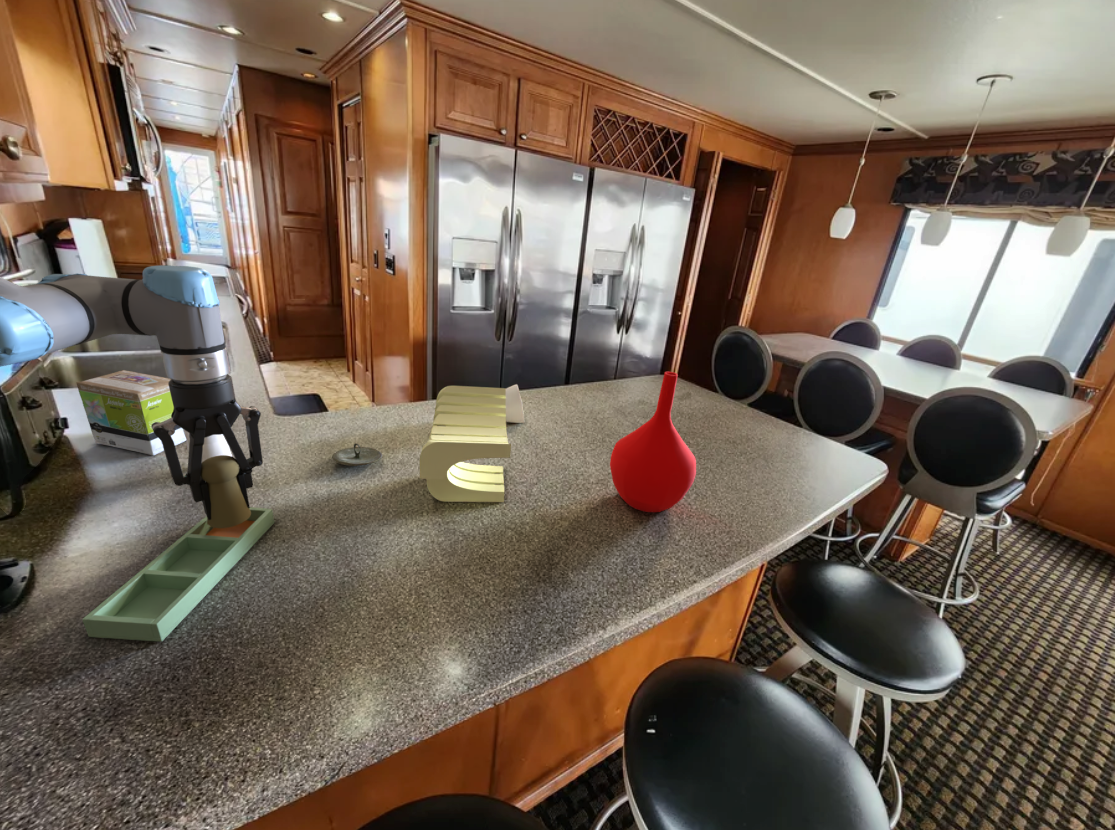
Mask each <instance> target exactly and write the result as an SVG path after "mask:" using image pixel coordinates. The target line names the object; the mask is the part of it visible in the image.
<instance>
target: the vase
mask: <svg viewBox="0 0 1115 830" xmlns="http://www.w3.org/2000/svg"><path fill="white" fill-rule="evenodd" d="M678 376H679V375H678V373H676V372H673V371H664V374H663V378H662V382H661V387H660V391H659V395H658V399H657V405H656V409H655V412H654V414H653V415H652V416H651V418H650V419H649V420H648V421H646V422H645V423H643V424H642V425H640V426H639V427H638V428H636V429H635V430H634V431H632V432H630V433H628V434H627V435H625V436H622V438H620V439H619V440H617V441H616V443H615V444H614V447H613V449H612V452H611V455H610V460H609V461H610V462H609V467H610V473H611V478H612V483H613V485H614V486H613V487H615V490H616V491H617V493H618V495H619V496H620V497H621V499H622V500H623V501H624V502H625V503H626V504H627V505H628V506H630V507H631V508H633V509H635V510H638V511H641V512H645V513H653V514H654V513H660V512H664V511H667V510H669V509H671V508H673V507H674V506H675V505H677V504H679V502H680V501H682V500H683V499H684V497H685V496H686V495H687V493H688V491H689V490H690V488H691V487H692V486H693V484H694V482H695V480H696V479H695V478H696V475H697V460H696V459H697V458H696V457H695V455H694V453H693V452H692V451H691V449H690V448H689V447H688V445H687V444H686V443H685V441H684V439H682V437H681V435H680V434H679V432H678V430H677V429H676V428H675V426H674V423H673V420H672V415H671V412H672V408H673V403H674V398H675V392H676V386H677V381H678Z"/></svg>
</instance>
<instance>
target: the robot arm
mask: <svg viewBox="0 0 1115 830" xmlns="http://www.w3.org/2000/svg"><path fill="white" fill-rule="evenodd" d="M220 303H221V302H220V299H219V297H218V294H217V290H216V286H215V282H214V277H213V276H212V274H211V273H210V271H208V270H206V269H205V268H202V267H198V266H197V267H196V266H188V265H151V266H147V267H145V268H144V269H143V270H142V279H134V278H123V277H122V278H121V277H109V276H98V275H88V274H85V273H71V274H69V273H67V274H66V273H52V274H49V275H45V276H43V277H42V278H41V280H40V281H39V282H37V283H35V284H28V285H27V284H26V285H20V284H16V283H14V282H11V281H10V280H8V279H6V278H4V277H1V276H0V367H5V366H6V367H7V366H12V365H14V364H19V363H25V362H30V361H31V362H32V361H34V360H37V359H39V358H41V357H43V356H45V355H50V354H52V353H55V352H58V351H62V350H64V349H68V348H71V347H73V346H78V345H82V344H85V343H89V342H92V341H95V340H98V339H102V338H104V337H108V336H112V335H134V336H150V337H151V336H152V337H153V336H155V337H156V339H157V343H158V346H159V349H160V354H161V359H162V363H163V367H164V372H165V376H166V378H168V379H171V380H170V381H169V382H168V385H169V389H170V393H171V398H172V402H173V406H174V410H173V412H172V415H171V418H169V419H167V420H165V421H163V422H161V423H160V422H154V423H153V424H152V425H151V427H152V429H153V431H154V433H155V435H156V436H157V437H158V438H159V439H160V440H161V442H162V445H163V449H164V451H163V452H164V455H165V460H166V462H167V465H168V469H169V472H170V476H171V478H172V481H173V483H174V485H175V486H183V485H187V486H189V489H190V494H191V497H192V500H193V501H194V502H195V503H200V502H202V506H203V510H204V514H205V517H206V516H207V518H208V520H211V501H210V497H209V492H208V487H207V483H206V481H204V480H203V479H202V478H201V464H202V452H203V445H204V438H205V437H209V436H211V435H221V434H223V436H224V438H225V440H226V442H227V444H228V446H229V448H230V452H231V454H232V456H233V457H234V458H235V459H236V460H237V462H238V464H239V468H240V469H239V473H238V474H237V477H238V480H239V484H240V488H241V492H242V495H243V497H244V500H245V502H246V504H247V507H248V508H250V507H251V506H250V501H249V496H248V490H247V489H251V488H253V486H254V482H253V475H252V473H253V469H254V468H256V467H260V466H262V465H263V462H264V461H263V453H262V446H261V440H260V432H259V431H260V430H259V422H260V419H261V415H262V412H261V411H260V410H259V409H258V408H257V407H256V406H255V405H251V406H249V407H247V406H241V405H240V404H239V403H238V401H237V399H236V394H235V388H234V383H233V377H232V376H231V375H229V374H230V373H231V366H230V361H229V356H228V351H227V350H228V349H227V345H226V341H225V337H224V336H225V335H224V330H223V324H222V323H223V322H222V316H221V311H220ZM240 415H241V418H242V420H244V422H245V423H244V425H245V431H246V438H247V445H248V451H249V453H248V454H249V457H248V458H247V457H246V454H244V452H243V450H242V448H241V446H240V443H239V441H238V439H237V438H236V435H235V433H234V431H233V429H232V427H233V425H234V424H235V422H237V419H238V418H239V416H240ZM176 425H178V426H180V427H181V428H183V429H184V430H186V431H187V432H189V438H190V443H189V453H188V458H187V459H188V460H187V461H188V462H187V471H186V473H184V472H183V470H182V466H181V463H180V459H179V455H178V452H177V449H176V445H175V444H174V441H173V439H172V437H171V436H172V435H173V434H174V433H175V430H174V427H175V426H176Z"/></svg>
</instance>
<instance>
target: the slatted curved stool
mask: <svg viewBox="0 0 1115 830" xmlns="http://www.w3.org/2000/svg"><path fill="white" fill-rule="evenodd" d="M506 388H507V387H506ZM506 388H504V387H486V386H470V385H469V386H467V385H447V386H445V387H443V388H442V389H441V390H440V391H438V394H437V397H436V399H435V400H436V401H435V407H434V414H433V419H432V421H433V422H432V425H431V429H430V432H429V435H428V439H427V441H426V443H425V444H424V445H423V446H422V449H421V451H420V455H419V463H418V464H419V480H426V481H425V482H426V488H427V490H428V492H429V494H430V495H431V496H432V497H433V498H434V499H436V500H438V501H440V502H444V503H445V502H446V503H447V502H449V503H450V502H451V503H453V502H454V503H455V502H456V503H461V502H462V503H505V485H504V484H505V481H504V480H505V479H504V466H503V465H485V464H483V465H482V464H475V463H469V462H466V461H471V460H472V461H473V460H480V459H511V454H512V453H511V452H512V443H509V440H508V434H507V433H508V432H507V431H508V430H507V422H506V408H505V407H506V398H505V396H506Z"/></svg>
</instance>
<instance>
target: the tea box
mask: <svg viewBox="0 0 1115 830" xmlns="http://www.w3.org/2000/svg"><path fill="white" fill-rule="evenodd" d="M170 380H171V379H170V378H168V377H163V376H159V375H158V376H157V375H151V374H146V373H140V372H137V371H136V372H135V371H131V370H130V371H129V370H126V369H123V370H119V371H115V372H112V373H108V374H104V375H101V376H97V377H94V378H90V379H86V380H82V381H77V382H76V386H77V389H78V390H77V391H78V393H79V396H80V399H81V402H82V406H83V409H84V412H85V415H86V418H87V421H88V425H89V427H90V431H91V434H92V438H93V440H94V442H95V444H97V445H104V446H109V447H113V448H118V449H124V450H127V451H132V452H137V453H141V454H144V455H149V456H155V455H157V454H160V453H163V452H164V449H163V445H162V442H161V440H160V439H159V438H158V437H157V436H156V435H155V433H154V431H153V429H152V427H151V425H152V424H153V423H154V422H160V423H161V422H163V421H165V420H167V419H169V418H171V415H172V412H173V410H174V406H173V402H172V398H171V393H170V389H169V385H168V382H169V381H170ZM174 430H175V433H174V434H173V435H172V436H171V437H172V439H173V441H174V444H175V446H178V445H180V444H183V443H184V442H187V440H186V437H185V435H184V431H183V428H181V427H180V426H178V425H176V426H175V427H174Z"/></svg>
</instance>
